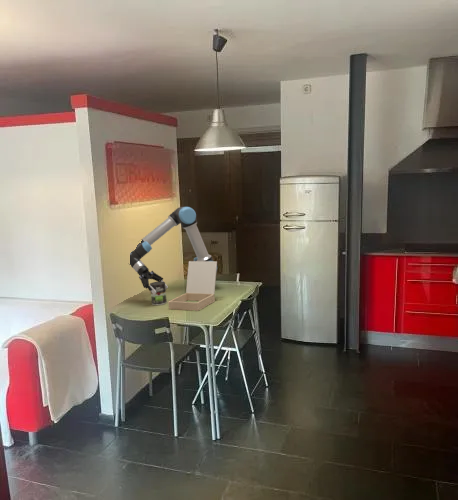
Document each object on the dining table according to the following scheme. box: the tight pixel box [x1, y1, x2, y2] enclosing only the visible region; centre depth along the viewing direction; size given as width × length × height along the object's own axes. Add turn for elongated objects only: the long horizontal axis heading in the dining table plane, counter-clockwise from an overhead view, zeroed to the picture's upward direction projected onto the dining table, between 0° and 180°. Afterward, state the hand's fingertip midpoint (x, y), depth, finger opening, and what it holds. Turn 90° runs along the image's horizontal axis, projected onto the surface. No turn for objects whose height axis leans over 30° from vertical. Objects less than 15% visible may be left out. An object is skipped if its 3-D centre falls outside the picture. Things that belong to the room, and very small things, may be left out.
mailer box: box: [167, 260, 218, 312], centre depth 298 cm, size 30×22×26 cm
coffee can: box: [149, 281, 168, 306], centre depth 307 cm, size 10×10×14 cm
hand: (161, 290), depth 306 cm, fingers open, 13 cm apart
